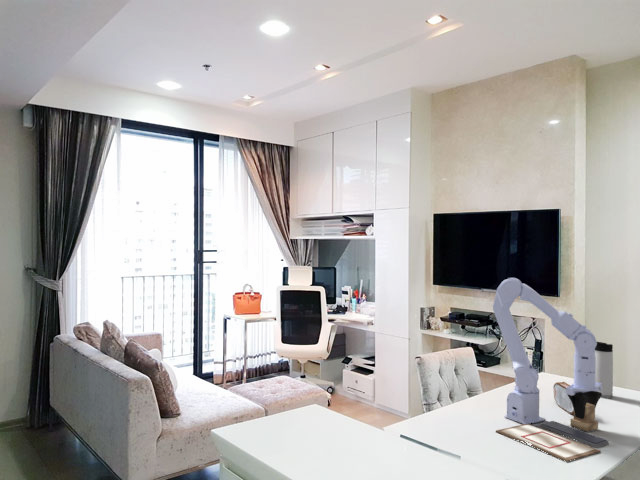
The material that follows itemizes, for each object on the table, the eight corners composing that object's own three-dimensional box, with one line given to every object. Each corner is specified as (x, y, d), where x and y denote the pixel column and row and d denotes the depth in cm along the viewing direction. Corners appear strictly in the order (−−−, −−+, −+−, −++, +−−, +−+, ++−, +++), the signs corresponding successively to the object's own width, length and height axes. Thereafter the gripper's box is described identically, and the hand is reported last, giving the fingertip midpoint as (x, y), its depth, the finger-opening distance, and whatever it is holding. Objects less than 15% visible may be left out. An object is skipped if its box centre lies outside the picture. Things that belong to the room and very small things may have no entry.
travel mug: (588, 393, 178) (588, 340, 179) (601, 392, 180) (602, 339, 181) (602, 398, 172) (603, 343, 173) (616, 397, 174) (616, 342, 175)
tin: (583, 418, 151) (583, 391, 151) (573, 418, 151) (573, 391, 151) (560, 403, 166) (560, 379, 166) (551, 403, 166) (551, 378, 166)
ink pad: (595, 447, 127) (595, 443, 127) (539, 426, 142) (539, 423, 142) (608, 444, 130) (608, 439, 130) (552, 423, 145) (552, 420, 145)
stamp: (587, 432, 138) (587, 407, 138) (570, 426, 143) (570, 402, 143) (598, 429, 141) (598, 405, 141) (581, 424, 145) (581, 400, 145)
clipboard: (566, 462, 118) (566, 459, 118) (495, 431, 137) (495, 429, 137) (600, 452, 124) (600, 449, 124) (528, 424, 144) (528, 422, 144)
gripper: (582, 376, 135) (582, 424, 135) (612, 371, 142) (612, 417, 142) (559, 370, 141) (559, 416, 141) (589, 366, 148) (589, 410, 148)
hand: (584, 416), depth 142 cm, fingers closed on stamp, 4 cm apart
